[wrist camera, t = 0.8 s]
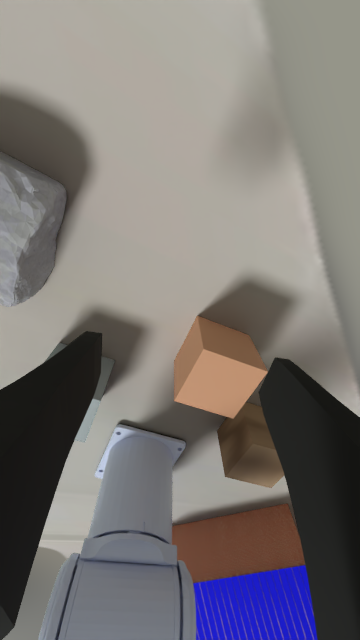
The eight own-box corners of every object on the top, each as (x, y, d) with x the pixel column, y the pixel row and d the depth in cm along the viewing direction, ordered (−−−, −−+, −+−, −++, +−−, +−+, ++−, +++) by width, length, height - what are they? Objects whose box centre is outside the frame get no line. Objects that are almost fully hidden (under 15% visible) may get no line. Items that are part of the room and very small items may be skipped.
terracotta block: (222, 376, 24) (233, 418, 19) (174, 360, 23) (174, 401, 18) (248, 334, 22) (268, 371, 17) (197, 315, 21) (203, 349, 16)
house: (154, 526, 37) (146, 656, 27) (288, 500, 34) (338, 633, 24) (179, 559, 42) (181, 679, 32) (298, 538, 40) (342, 661, 29)
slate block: (100, 397, 25) (84, 442, 20) (49, 382, 24) (21, 426, 19) (115, 359, 23) (100, 400, 18) (59, 341, 22) (30, 380, 17)
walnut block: (256, 441, 28) (271, 488, 24) (216, 430, 27) (225, 476, 23) (280, 412, 26) (302, 457, 22) (239, 399, 25) (253, 443, 21)
